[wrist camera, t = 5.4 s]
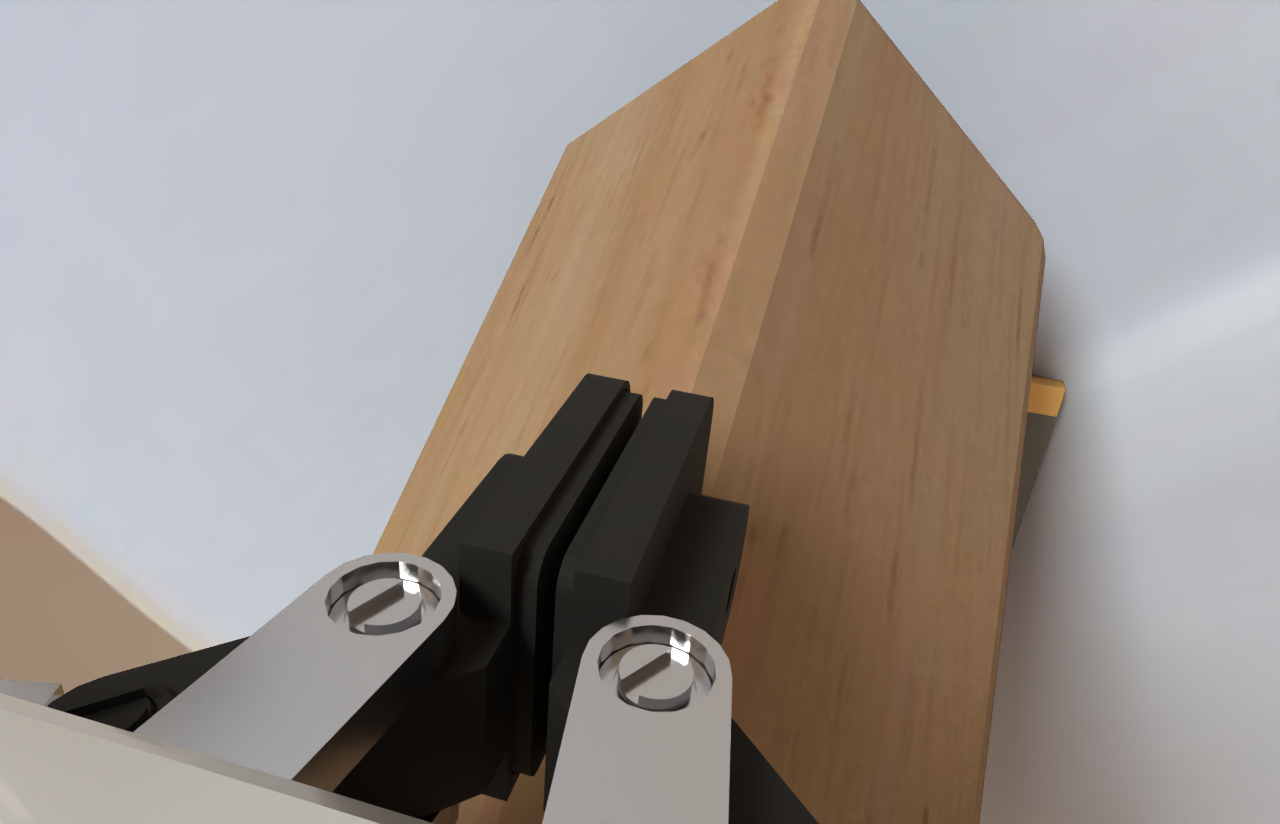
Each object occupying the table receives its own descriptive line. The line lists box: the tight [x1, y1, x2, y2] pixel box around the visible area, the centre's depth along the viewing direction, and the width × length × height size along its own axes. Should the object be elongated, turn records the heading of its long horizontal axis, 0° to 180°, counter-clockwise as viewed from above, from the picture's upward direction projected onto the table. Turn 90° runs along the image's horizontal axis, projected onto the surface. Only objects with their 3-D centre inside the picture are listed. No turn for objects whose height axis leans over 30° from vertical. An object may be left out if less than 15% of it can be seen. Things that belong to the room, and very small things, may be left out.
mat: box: [1011, 376, 1066, 550], centre depth 34 cm, size 18×16×1 cm
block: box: [373, 0, 1045, 824], centre depth 20 cm, size 10×10×20 cm
